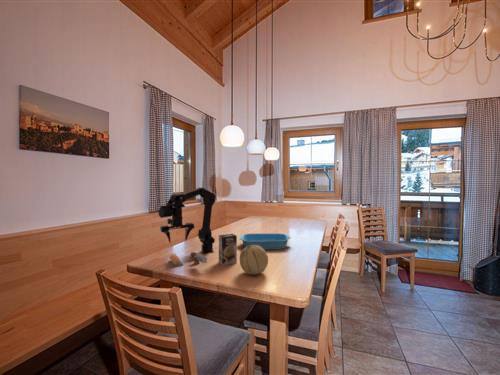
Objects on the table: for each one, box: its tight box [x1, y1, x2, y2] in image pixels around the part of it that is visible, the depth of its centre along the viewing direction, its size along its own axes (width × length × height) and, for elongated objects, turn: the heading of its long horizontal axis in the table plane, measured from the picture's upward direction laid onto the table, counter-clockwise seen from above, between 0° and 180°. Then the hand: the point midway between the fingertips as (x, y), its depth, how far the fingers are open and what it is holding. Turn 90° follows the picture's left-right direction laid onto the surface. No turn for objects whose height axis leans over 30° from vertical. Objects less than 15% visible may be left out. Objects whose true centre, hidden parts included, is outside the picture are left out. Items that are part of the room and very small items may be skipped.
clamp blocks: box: [190, 251, 200, 265], centre depth 138 cm, size 2×9×4 cm, turn 30°
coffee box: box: [218, 233, 238, 266], centre depth 136 cm, size 9×6×16 cm
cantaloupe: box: [239, 245, 269, 276], centre depth 120 cm, size 15×15×15 cm
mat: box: [168, 260, 184, 268], centre depth 134 cm, size 6×10×1 cm, turn 30°
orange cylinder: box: [169, 253, 181, 265], centre depth 134 cm, size 9×4×4 cm, turn 30°
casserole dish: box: [239, 232, 291, 250], centre depth 170 cm, size 37×22×7 cm, turn 89°
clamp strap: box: [196, 252, 208, 264], centre depth 127 cm, size 2×10×2 cm, turn 30°
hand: (177, 241), depth 139 cm, fingers open, 9 cm apart
